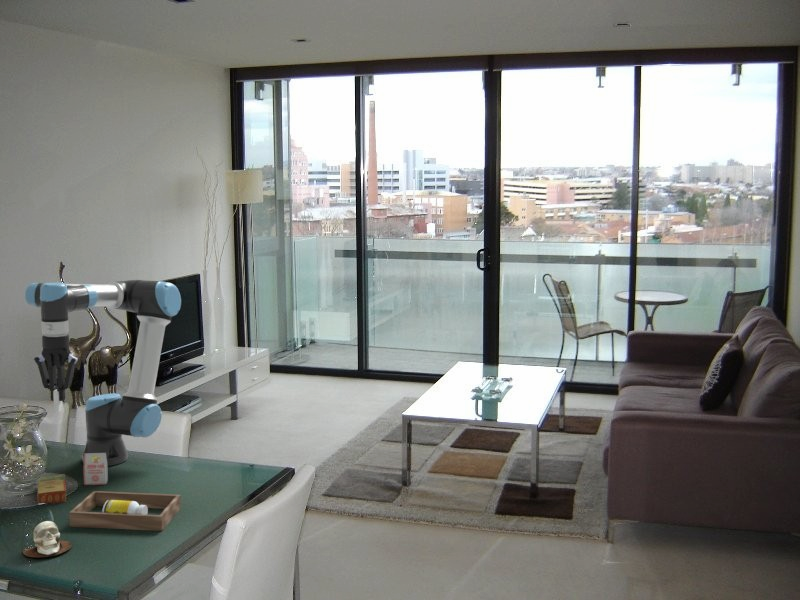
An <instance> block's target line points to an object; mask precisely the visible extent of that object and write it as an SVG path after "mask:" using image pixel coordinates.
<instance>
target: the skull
mask: <svg viewBox="0 0 800 600" xmlns="http://www.w3.org/2000/svg"><path fill="white" fill-rule="evenodd" d="M32 538H33V539H32V540H33V542H34V545H35V546H36V548H35V547H34V548H33V547H32V548H31V547H30V549H26V548H25V549H24V550H25V551H24V550H23V551H22V553H23V555H24V556H26V557H30V558H48V557H54V556H58V555H61V554H63V553H65V552H67V551H68V550H71V548H72V543H71V542H69V541H66V540H60V538H61V533H60V532H59V528H58V526H57V524H56V523H55V522H53V521H51V520H46V521H42V522H40V523H39V524H37V525H36V526H35V527H34V530H33V532H32ZM27 547H28V548H29V546H27Z"/></svg>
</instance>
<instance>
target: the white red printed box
mask: <svg viewBox="0 0 800 600" xmlns="http://www.w3.org/2000/svg"><path fill="white" fill-rule="evenodd" d="M108 467H109V466H107V458H106V453H84V463H83V468H82V469H83V485H84V486H97V485H98V486H99V485H103V486H104V485H106V484H108V482H109V476H108V474H109V473H108Z"/></svg>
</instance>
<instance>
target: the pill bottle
mask: <svg viewBox="0 0 800 600" xmlns="http://www.w3.org/2000/svg"><path fill="white" fill-rule="evenodd" d="M101 511H102V512H101V513H121V514H144V515H149V514H148V512H149V508H147V506H146V505H140V506H139V504H138V503H137V502H136V501H123V500H107V501H106V502H105V504H104V506H102V510H101Z"/></svg>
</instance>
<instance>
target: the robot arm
mask: <svg viewBox="0 0 800 600" xmlns="http://www.w3.org/2000/svg"><path fill="white" fill-rule="evenodd" d="M24 299H25V302H26V303H27V305H29V306H31V307H36V308H40V316H41V319H40V320H41V321H40V322H41V334H42V336H41V343H42V345H41V346H42V351H41V354H39V355H37V356H35V357H33V358H34V359H33V360H34V362H35V363H36V365H37V369H38V370H39V371H38V372H39V374H40V378H41V381H42V385H43V388H44V389H48V390H49V391H50V401H53V412H54V413H60V412H62V411H63V410H64V407H63V406H64V405H63V401H65V400H66V390H68V389H69V388H71V387H72V384H73V383H72V382H73V379H74V378H73V377H74V373H75V370H76V364H77V362H78V361H79V357H78V356H74V355H72V352H71V351H70V336H69V334H68V333H69V332H70V328H69V313H72V312H78V311H86V310H89V309H91V308H94V307H105V308H107V309H109V310H120V311H126V312H131V313H136V318H137V319H138V321H139V322H140V323H139V328H138V333H137V339H136V345H135V351H134V357H133V361H132V367H131V372H130V379H129V385H128V390H127V391H126V392H125V393H123V394H122V396H121V394H120V393H105V394H103V393H102V394H99V395H94V396H92V397H89V398H87V400H86V401H85V410H84V411H85V425H86V428H85V429H86V442H85V444H84V449H83V452H82V455H81V459H82V463H83V464H84V453H106V458H107V467H111V466H115V465H119V464H121V463H124V462H125V461H127V460H128V458H129V457H128V453H129V452H128V449H127V447H126V445H125V442H124V439H123V436H129V437H133V438H148V437H151V436H152V435H153V434H154V433H155V432H157V430H158V429H159V427H160V425H161V422H162V416H163V413H162V409H161V407H160V406H159V405H158V398H157V397H156V396H155V388H156V382H157V378H158V372H159V371H158V370H159V366H160V361H161V360H160V359H161V353H162V347H163V342H164V337H165V331H166V327H167V326H168V325H169V324H170V323H171V322H172V317H174V316H177V315H178V313H179V312H180V310H181V308H182V307H181V306H182V297H181V293H180V291H179V288H178V287H177V286H176V285H175V284H173V283H171V282H168V281H167V282H166V281H162V280H159V281H157V280H144V279H143V280H142V279H131V280H123V281H122V280H119V281H108V282H107V283H105V284H103V283H102V284H101V283H99V284H98V283H96V284H95V283H91V284H90V283H65V282H60V281H59V282H56V281H55V282H46V283H43V282H32V283H30V284H29V285H28V286H27V287H26V289H25V292H24ZM67 361H68V366H67V369H66V362H67ZM46 362H47V363H46ZM46 364H47V365H46ZM65 369H66V370H65Z"/></svg>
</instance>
